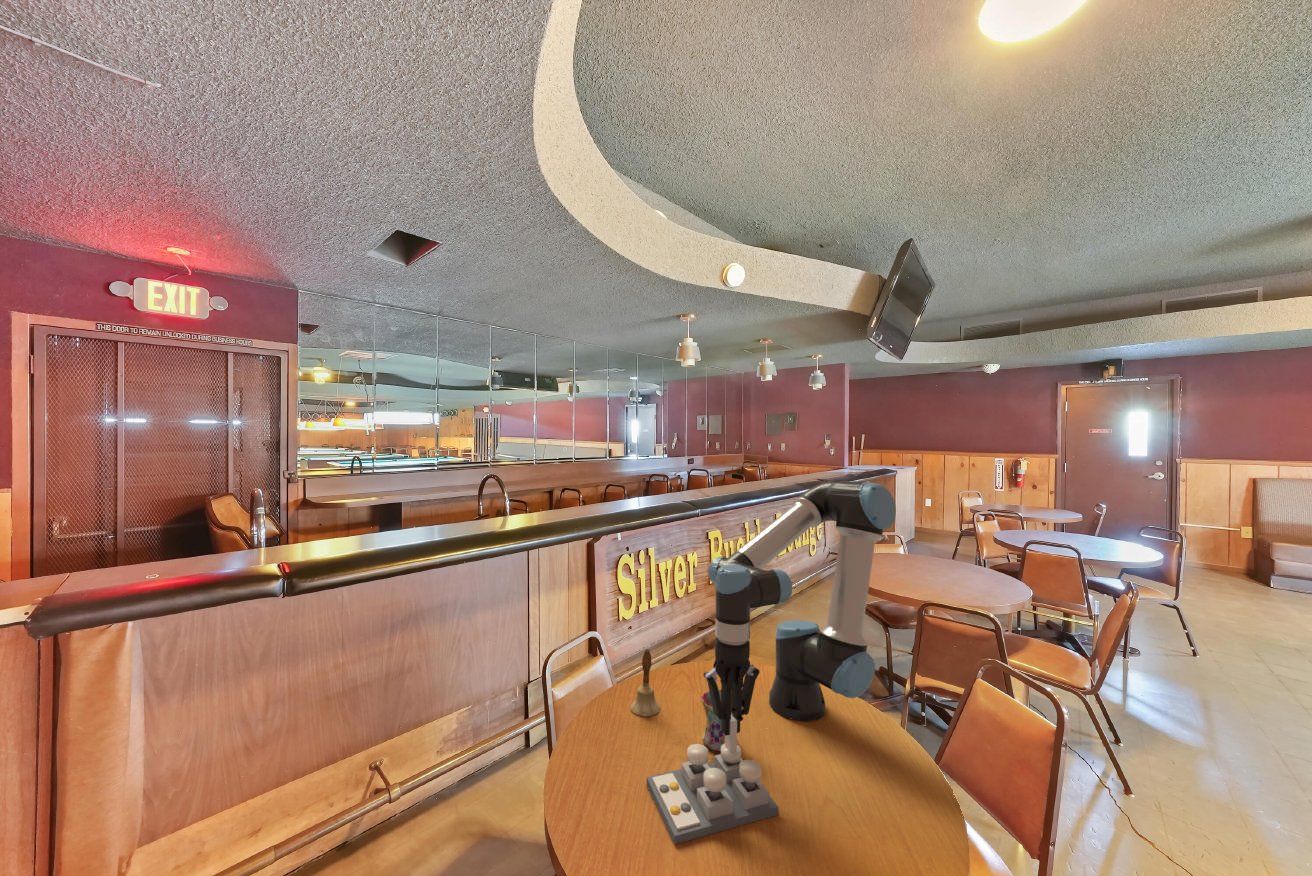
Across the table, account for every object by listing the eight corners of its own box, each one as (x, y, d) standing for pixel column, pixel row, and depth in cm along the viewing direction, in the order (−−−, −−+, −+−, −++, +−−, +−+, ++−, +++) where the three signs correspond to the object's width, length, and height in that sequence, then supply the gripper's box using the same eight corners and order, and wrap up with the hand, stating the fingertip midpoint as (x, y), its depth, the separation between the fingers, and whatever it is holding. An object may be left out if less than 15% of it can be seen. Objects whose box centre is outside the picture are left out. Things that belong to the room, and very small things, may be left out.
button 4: (719, 785, 94) (719, 765, 94) (730, 801, 90) (730, 780, 90) (699, 790, 92) (699, 770, 92) (709, 806, 88) (709, 785, 88)
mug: (741, 756, 108) (741, 710, 109) (701, 754, 109) (702, 708, 109) (735, 726, 120) (736, 685, 121) (699, 724, 121) (700, 683, 121)
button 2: (753, 776, 96) (754, 757, 97) (765, 791, 92) (765, 771, 92) (735, 781, 95) (735, 762, 95) (746, 796, 91) (746, 776, 91)
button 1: (734, 758, 104) (734, 741, 104) (744, 771, 100) (745, 753, 100) (717, 762, 102) (717, 744, 103) (726, 776, 98) (726, 757, 98)
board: (737, 762, 106) (737, 745, 106) (778, 814, 91) (778, 794, 91) (646, 784, 99) (646, 766, 99) (674, 844, 84) (674, 822, 84)
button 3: (702, 760, 101) (702, 742, 101) (711, 773, 97) (711, 754, 97) (683, 764, 100) (684, 746, 100) (692, 778, 96) (692, 759, 96)
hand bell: (642, 697, 134) (643, 641, 134) (666, 707, 129) (667, 648, 130) (624, 710, 127) (625, 651, 128) (648, 720, 122) (649, 659, 123)
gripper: (749, 629, 108) (747, 732, 107) (698, 635, 103) (696, 743, 103) (767, 641, 101) (765, 752, 100) (713, 648, 96) (711, 765, 95)
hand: (730, 747), depth 101 cm, fingers closed
